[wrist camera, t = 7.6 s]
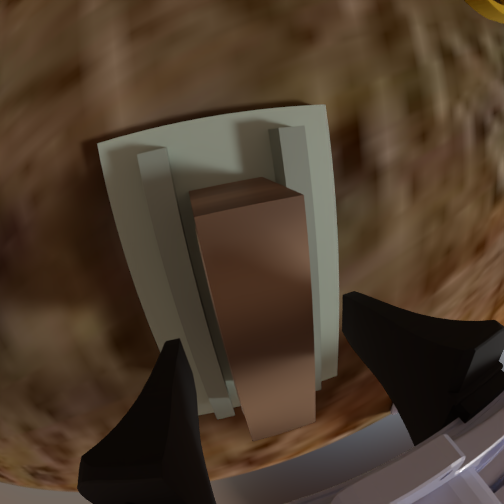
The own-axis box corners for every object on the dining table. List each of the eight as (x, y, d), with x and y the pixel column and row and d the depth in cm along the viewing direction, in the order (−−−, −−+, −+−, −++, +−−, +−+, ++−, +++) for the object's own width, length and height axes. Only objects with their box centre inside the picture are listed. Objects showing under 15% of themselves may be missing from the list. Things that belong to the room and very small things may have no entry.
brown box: (287, 365, 19) (316, 421, 14) (233, 380, 18) (252, 441, 13) (263, 176, 14) (305, 194, 9) (187, 191, 13) (192, 217, 9)
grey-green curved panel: (331, 367, 21) (346, 388, 19) (189, 406, 19) (192, 433, 17) (316, 106, 14) (340, 101, 12) (102, 143, 12) (88, 143, 10)
